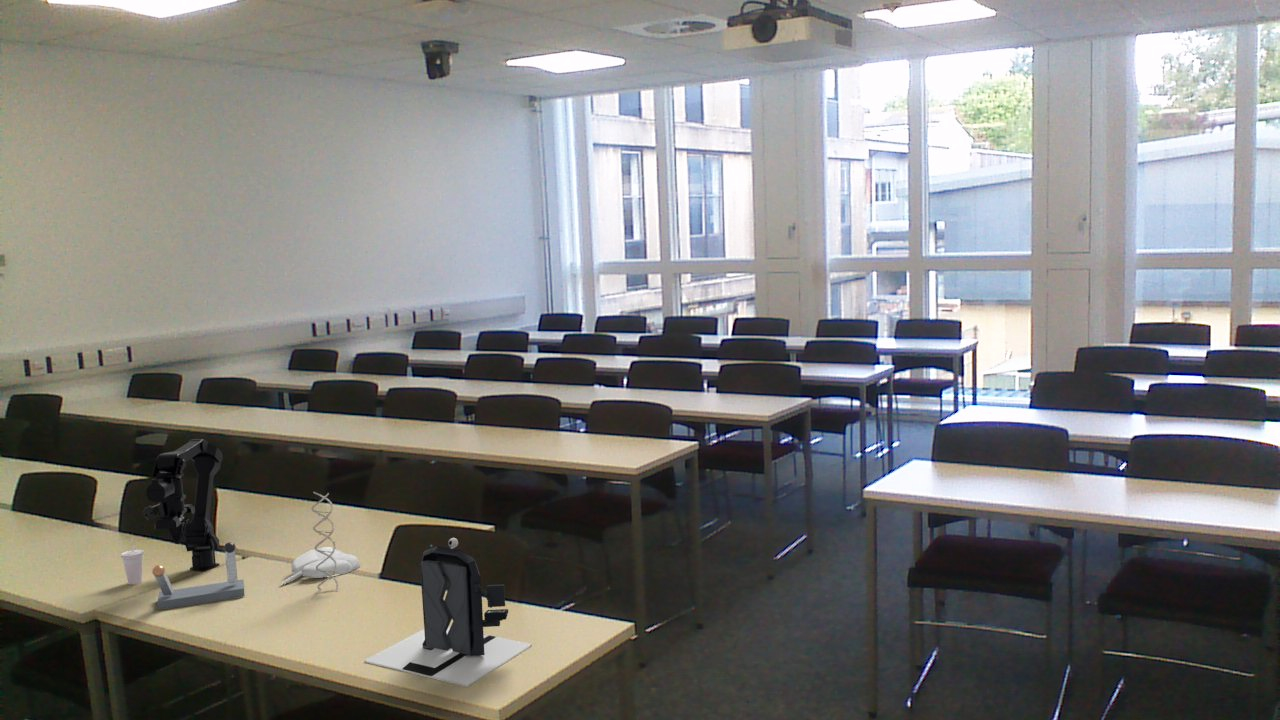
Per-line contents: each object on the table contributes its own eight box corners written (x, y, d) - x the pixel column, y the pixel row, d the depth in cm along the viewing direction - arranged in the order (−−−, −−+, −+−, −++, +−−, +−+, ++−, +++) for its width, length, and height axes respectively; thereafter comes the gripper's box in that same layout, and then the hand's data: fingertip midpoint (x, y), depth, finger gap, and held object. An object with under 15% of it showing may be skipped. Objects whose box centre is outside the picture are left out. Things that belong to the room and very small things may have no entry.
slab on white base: (364, 663, 236) (356, 549, 233) (433, 626, 258) (427, 522, 255) (467, 687, 221) (460, 566, 217) (532, 646, 243) (526, 536, 239)
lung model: (366, 566, 310) (302, 598, 290) (331, 559, 320) (266, 589, 299) (363, 547, 309) (298, 577, 289) (327, 540, 318) (262, 569, 298)
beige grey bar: (225, 582, 289) (222, 542, 287) (236, 579, 291) (233, 540, 289) (228, 584, 286) (225, 544, 285) (239, 582, 288) (236, 542, 287)
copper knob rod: (164, 588, 282) (152, 563, 274) (175, 588, 283) (164, 562, 275) (161, 598, 280) (149, 572, 272) (173, 597, 280) (161, 571, 272)
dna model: (312, 593, 287) (304, 494, 283) (326, 585, 293) (319, 489, 289) (330, 595, 284) (322, 495, 281) (344, 588, 290) (337, 490, 287)
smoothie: (150, 579, 305) (146, 536, 303) (138, 586, 298) (134, 542, 297) (131, 579, 305) (127, 536, 304) (119, 586, 299) (114, 542, 297)
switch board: (160, 600, 285) (159, 591, 285) (244, 587, 294) (243, 579, 294) (158, 610, 277) (157, 601, 277) (244, 596, 286) (243, 588, 285)
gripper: (156, 488, 303) (160, 537, 305) (133, 503, 285) (138, 554, 287) (193, 486, 305) (197, 534, 307) (173, 500, 287) (178, 552, 288)
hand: (177, 543), depth 297 cm, fingers closed
